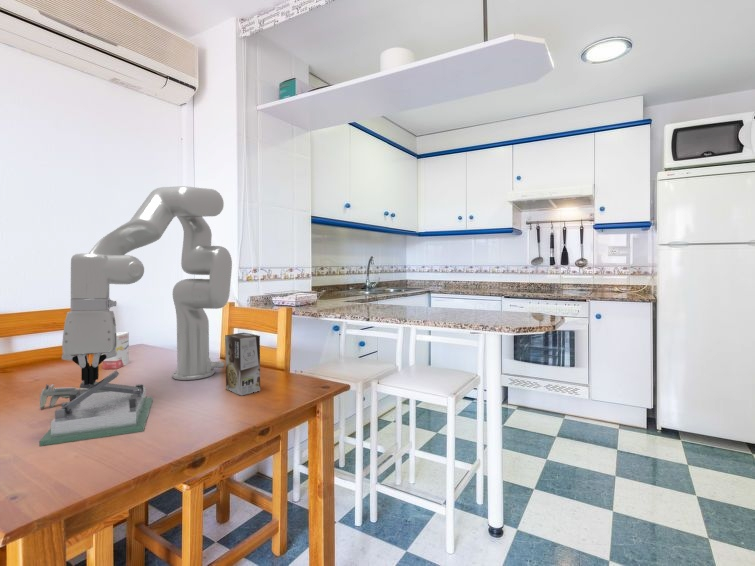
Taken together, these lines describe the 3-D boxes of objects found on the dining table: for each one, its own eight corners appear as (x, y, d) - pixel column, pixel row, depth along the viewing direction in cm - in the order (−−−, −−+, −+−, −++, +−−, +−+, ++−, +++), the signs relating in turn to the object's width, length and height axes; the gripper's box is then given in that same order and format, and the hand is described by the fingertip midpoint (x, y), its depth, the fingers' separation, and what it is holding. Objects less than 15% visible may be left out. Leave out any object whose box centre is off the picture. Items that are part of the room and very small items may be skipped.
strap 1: (60, 416, 86) (56, 412, 86) (65, 411, 89) (61, 407, 88) (117, 377, 90) (113, 373, 90) (119, 373, 93) (115, 369, 92)
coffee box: (261, 391, 116) (260, 335, 116) (240, 396, 112) (239, 338, 111) (245, 384, 123) (244, 331, 122) (224, 389, 118) (224, 334, 117)
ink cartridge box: (117, 369, 140) (116, 327, 139) (102, 369, 140) (101, 327, 139) (130, 363, 149) (129, 323, 148) (115, 363, 148) (114, 323, 147)
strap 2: (141, 391, 102) (142, 386, 102) (139, 395, 100) (141, 390, 100) (82, 384, 97) (84, 379, 97) (79, 388, 94) (80, 383, 95)
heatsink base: (152, 400, 108) (152, 378, 108) (143, 431, 88) (142, 403, 88) (70, 410, 101) (69, 386, 100) (39, 446, 81) (38, 416, 80)
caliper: (41, 411, 101) (40, 386, 100) (40, 410, 101) (39, 385, 101) (130, 390, 117) (129, 369, 117) (128, 390, 118) (128, 368, 118)
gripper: (129, 304, 102) (129, 376, 102) (56, 305, 96) (55, 382, 96) (124, 306, 95) (124, 384, 96) (45, 307, 89) (45, 390, 89)
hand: (90, 383), depth 96 cm, fingers closed
